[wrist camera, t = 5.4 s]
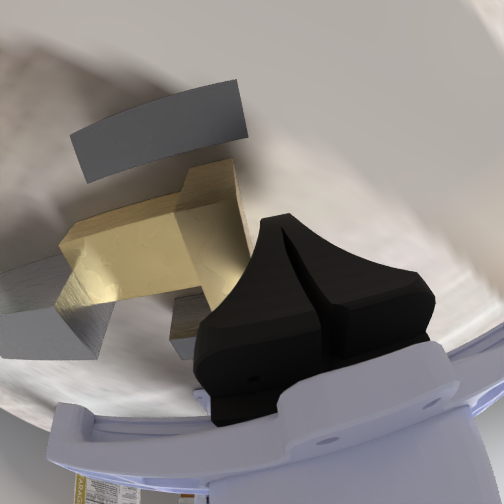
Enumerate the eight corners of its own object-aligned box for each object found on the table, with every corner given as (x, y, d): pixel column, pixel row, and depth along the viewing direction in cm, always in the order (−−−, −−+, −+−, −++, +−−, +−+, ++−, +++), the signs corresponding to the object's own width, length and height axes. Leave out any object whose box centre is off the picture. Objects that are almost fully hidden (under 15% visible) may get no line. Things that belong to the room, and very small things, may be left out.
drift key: (255, 262, 16) (266, 325, 12) (112, 290, 16) (92, 348, 12) (232, 158, 12) (236, 198, 8) (68, 206, 12) (25, 256, 9)
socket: (276, 303, 18) (285, 343, 15) (185, 319, 18) (182, 360, 15) (233, 80, 10) (236, 79, 7) (102, 119, 10) (69, 135, 8)
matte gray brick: (117, 295, 16) (97, 359, 12) (25, 310, 17) (2, 358, 12) (88, 244, 14) (53, 306, 10) (-1, 272, 14) (-32, 319, 10)
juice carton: (78, 426, 32) (69, 548, 12) (99, 422, 30) (92, 564, 10) (123, 444, 37) (120, 557, 17) (148, 442, 34) (150, 568, 15)
